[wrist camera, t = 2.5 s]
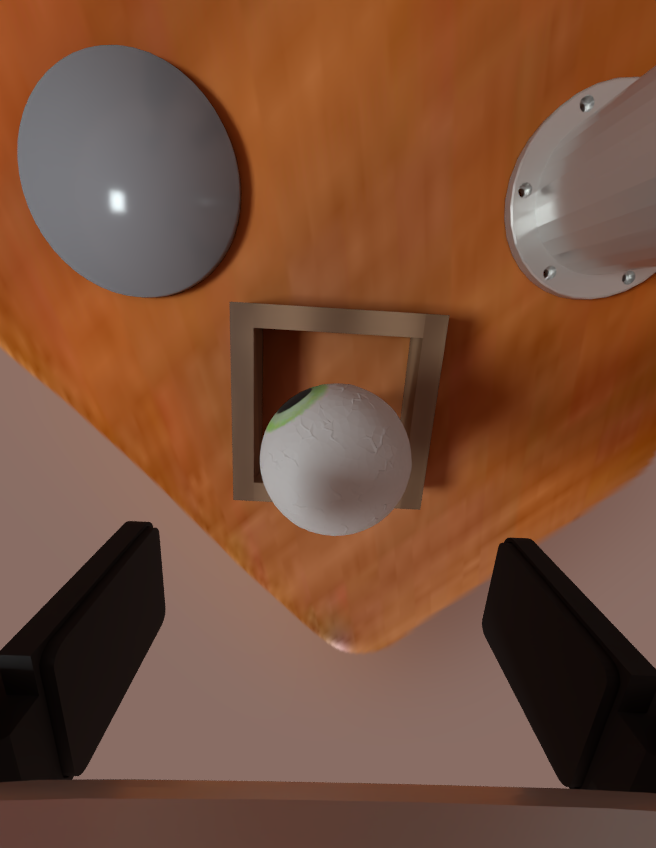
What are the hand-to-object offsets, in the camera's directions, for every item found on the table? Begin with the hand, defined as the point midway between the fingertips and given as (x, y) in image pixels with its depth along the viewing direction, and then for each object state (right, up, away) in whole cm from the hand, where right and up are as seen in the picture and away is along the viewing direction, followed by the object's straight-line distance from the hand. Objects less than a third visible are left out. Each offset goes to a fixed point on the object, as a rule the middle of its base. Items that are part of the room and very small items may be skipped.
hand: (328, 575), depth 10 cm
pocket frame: (0, +6, +18) cm, 19 cm away
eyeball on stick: (0, +6, +18) cm, 19 cm away
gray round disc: (-13, +20, +14) cm, 28 cm away
